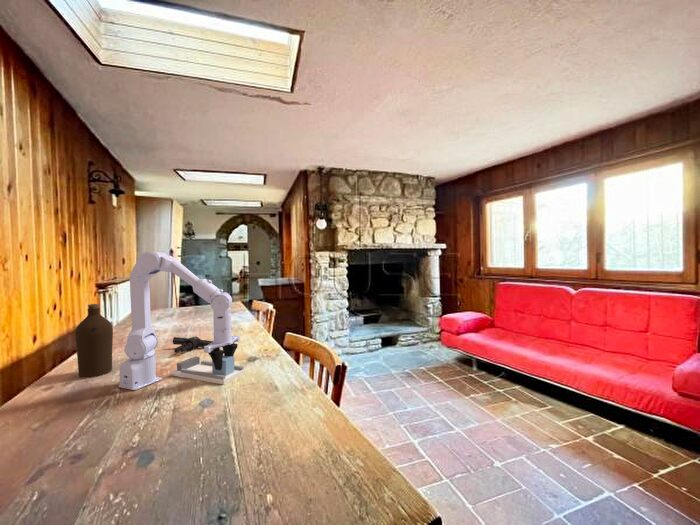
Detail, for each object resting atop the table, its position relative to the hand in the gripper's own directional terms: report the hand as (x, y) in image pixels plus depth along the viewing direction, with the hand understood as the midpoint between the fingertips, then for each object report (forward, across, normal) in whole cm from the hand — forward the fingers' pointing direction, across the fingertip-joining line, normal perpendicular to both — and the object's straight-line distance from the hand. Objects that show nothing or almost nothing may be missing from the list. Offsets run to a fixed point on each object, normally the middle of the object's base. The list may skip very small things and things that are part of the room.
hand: (223, 367), depth 108 cm
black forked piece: (+4, +18, +36) cm, 40 cm away
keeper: (+2, 0, 0) cm, 2 cm away
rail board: (+3, 0, +6) cm, 7 cm away
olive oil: (+4, -13, +47) cm, 49 cm away
